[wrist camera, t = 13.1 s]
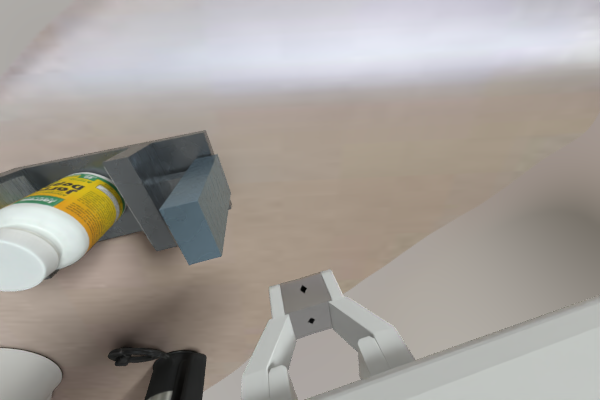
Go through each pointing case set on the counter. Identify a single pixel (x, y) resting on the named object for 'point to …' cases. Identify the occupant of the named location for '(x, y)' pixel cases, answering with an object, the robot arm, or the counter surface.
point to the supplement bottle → (55, 227)
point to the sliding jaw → (174, 201)
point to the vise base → (103, 173)
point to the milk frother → (168, 372)
